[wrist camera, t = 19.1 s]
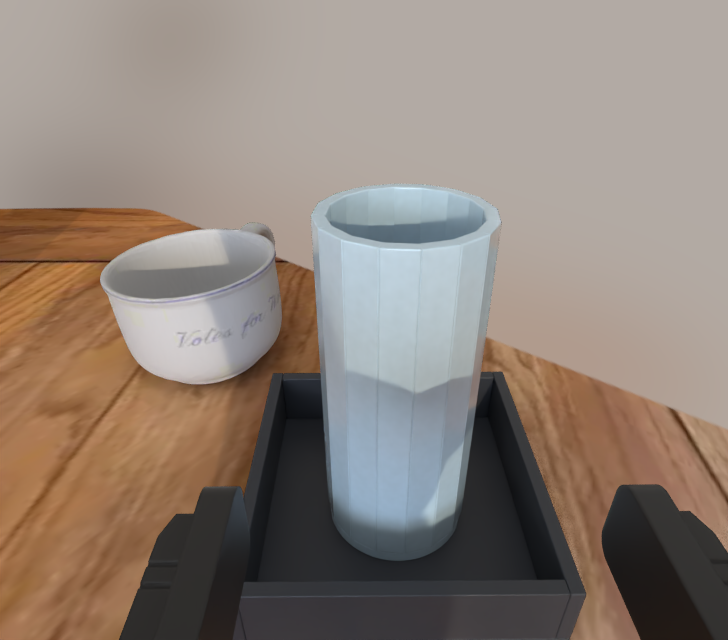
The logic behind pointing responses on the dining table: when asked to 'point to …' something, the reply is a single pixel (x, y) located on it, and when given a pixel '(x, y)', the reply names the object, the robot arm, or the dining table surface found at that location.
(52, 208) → the dining table surface
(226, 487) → the robot arm
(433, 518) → the tumbler
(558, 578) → the tray
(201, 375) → the teacup
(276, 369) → the dining table surface
